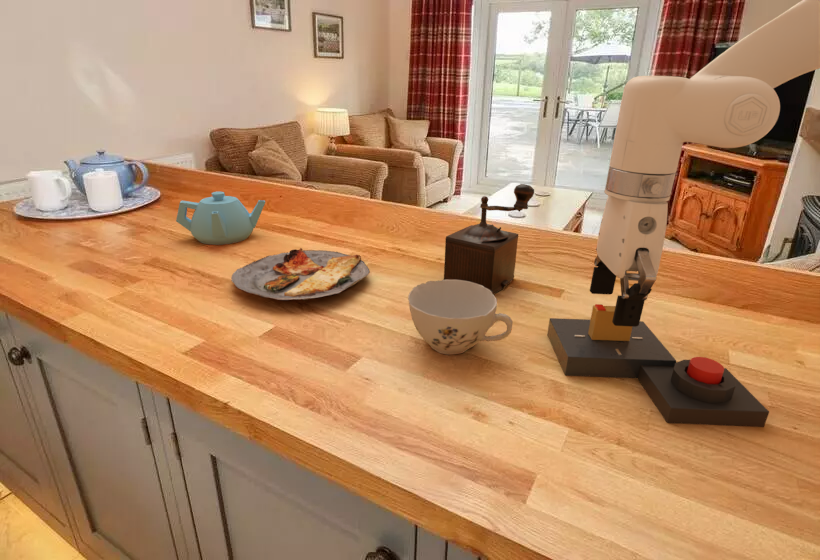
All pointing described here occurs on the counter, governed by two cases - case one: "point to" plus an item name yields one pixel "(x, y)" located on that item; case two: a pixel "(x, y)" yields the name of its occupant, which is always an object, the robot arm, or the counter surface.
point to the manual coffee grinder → (485, 248)
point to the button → (705, 370)
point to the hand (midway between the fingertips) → (612, 308)
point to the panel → (604, 350)
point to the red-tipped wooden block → (606, 325)
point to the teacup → (455, 314)
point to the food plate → (300, 274)
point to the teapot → (219, 219)
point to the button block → (700, 398)
